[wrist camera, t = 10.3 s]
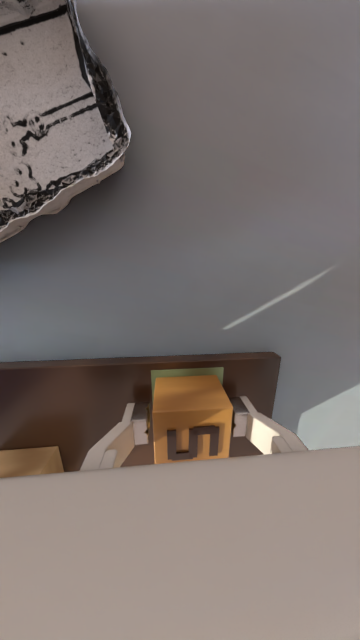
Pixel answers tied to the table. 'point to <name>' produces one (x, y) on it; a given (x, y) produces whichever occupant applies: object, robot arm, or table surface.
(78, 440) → the letter board
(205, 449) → the letter s tile
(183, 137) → the table surface
